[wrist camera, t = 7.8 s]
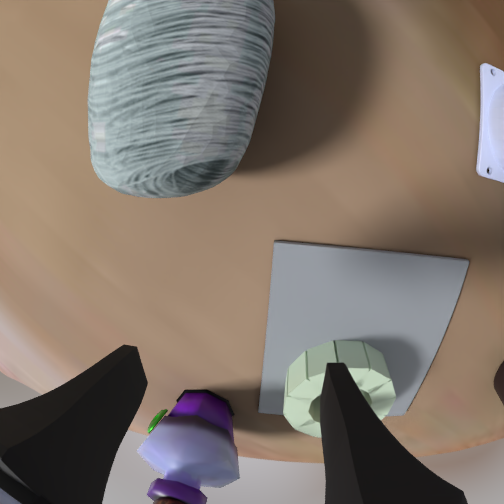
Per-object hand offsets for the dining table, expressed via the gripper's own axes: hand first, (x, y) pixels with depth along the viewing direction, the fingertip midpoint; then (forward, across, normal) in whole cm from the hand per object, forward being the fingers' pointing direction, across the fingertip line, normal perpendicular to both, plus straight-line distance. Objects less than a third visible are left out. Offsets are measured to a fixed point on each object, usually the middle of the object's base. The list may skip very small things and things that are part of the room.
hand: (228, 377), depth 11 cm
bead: (+10, -6, +9) cm, 15 cm away
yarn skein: (+10, +3, -12) cm, 16 cm away
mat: (+10, -8, +6) cm, 14 cm away
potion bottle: (+10, +5, +15) cm, 19 cm away
